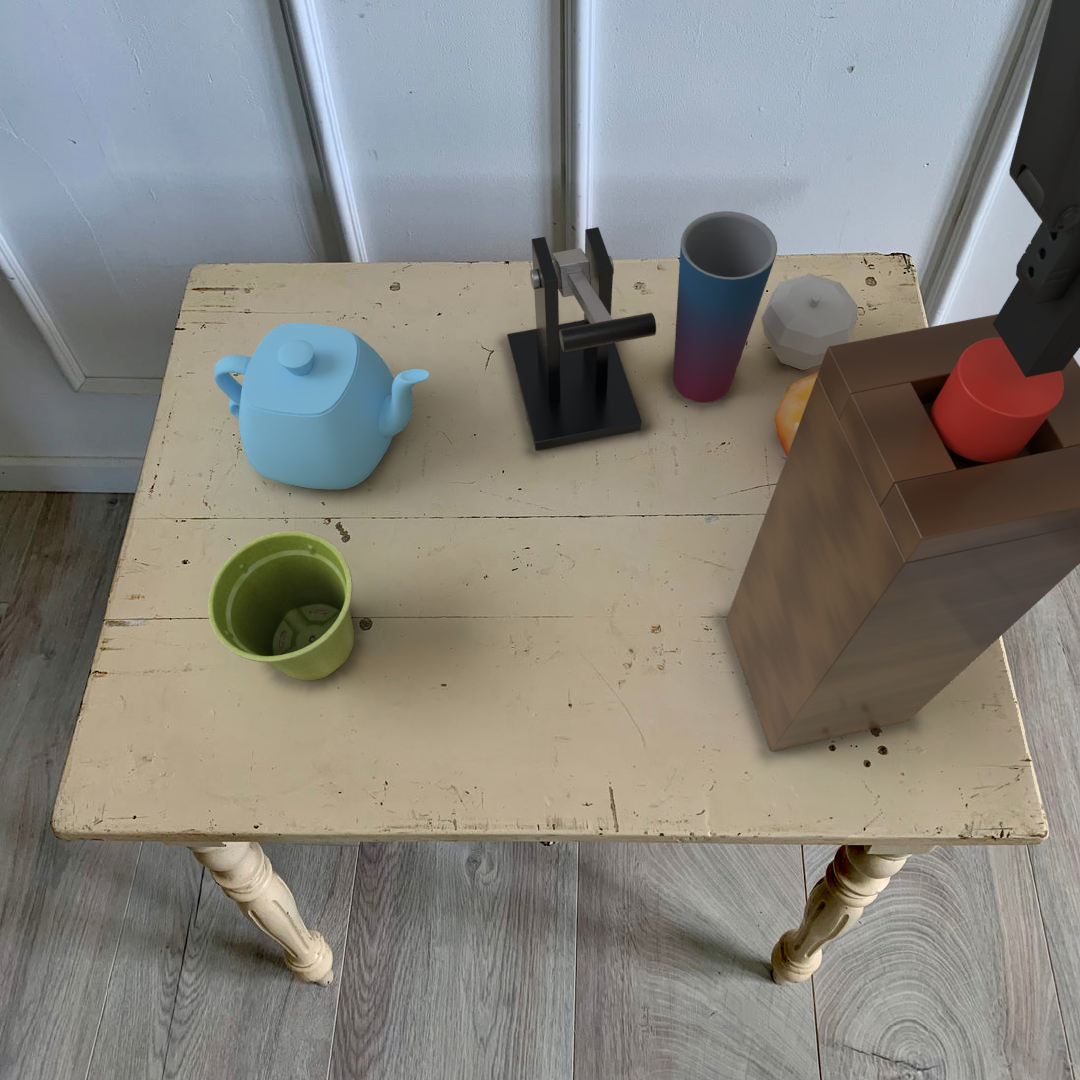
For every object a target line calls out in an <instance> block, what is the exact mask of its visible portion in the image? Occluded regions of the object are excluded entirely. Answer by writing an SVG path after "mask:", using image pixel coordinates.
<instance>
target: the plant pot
mask: <svg viewBox="0 0 1080 1080" xmlns="http://www.w3.org/2000/svg"><path fill="white" fill-rule="evenodd" d="M353 590H354V589H353V577H352V574H351V569H350V568H349V565H348V562H347V561H346V559H345V557H344V555H343V554H342V552H340V550H339V549H338V548H337V547H336V546H335V545H333V544H332V542H330V541H328V540H327V539H326V538H323V537H321V536H319V535H317V534H314V533H311V532H307V531H300V530H287V531H286V530H283V531H276V532H272V533H268V534H265V535H262V536H259V537H257V538H255V539H253V540H251V541H249V542H247V543H246V544H244V545H243V546H241V547H240V548H238V549H237V550H235V551H234V552H233V554H231V555H230V556H229V558H228V559H227V560H226V561H225V562H224V563H223V564H222V566H221V567H220V569H218V571H217V573H216V575H215V576H214V578H213V581H212V584H211V586H210V590H209V594H208V599H207V614H208V621H209V624H210V627H211V629H212V631H213V633H214V634H215V636H216V638H217V639H218V641H219V642H220V643H221V644H222V645H223V646H224V647H225V648H226V649H227V650H228V651H230V652H232V653H233V654H234V655H237V656H238V657H241V658H243V659H245V660H248V661H251V662H252V661H253V662H257V663H267V664H269V665H270V666H272V667H273V668H275V669H277V670H278V671H280V672H281V673H283V674H285V676H288V677H290V678H293V679H296V680H298V681H315V680H321V679H323V678H326V677H328V676H330V675H331V674H332V673H334V672H335V671H336V670H337V669H338V668H340V667H341V666H342V665H343V664H344V663H346V661H347V660H348V659H349V657H350V655H351V653H352V651H353V648H354V643H355V629H354V624H353V620H352V616H351V611H350V608H351V603H352V599H353ZM317 610H323V611H326V614H325V613H317V612H316V613H313V611H317ZM284 632H285V636H284V639H283V644H282V648H281V647H280V643H281V639H280V638H281V635H282V634H283V633H284ZM311 637H314V638H315V639H314V641H313V642H312V641H310V638H311Z"/></svg>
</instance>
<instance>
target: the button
mask: <svg viewBox="0 0 1080 1080" xmlns="http://www.w3.org/2000/svg"><path fill="white" fill-rule="evenodd" d="M1063 390H1064V382H1063V377H1062V374H1061V372H1060V371H1056V372H1051V373H1046V374H1041V375H1036V376H1031V377H1025V376H1024V374H1023V372H1022V371H1021V369H1020V368H1019V366H1018V364H1017V363H1016V361H1015V359H1014V358H1013V356H1012V355H1011V353H1010V351H1009V350H1008V348H1007V346H1006V345H1005V343H1004V342H1003V340H1002V338H989V339H985V340H981V341H979V342H976V343H974V344H973V345H971V346H970V347H968V348H967V349H966V350H965V351H964V352H963V354H962V355H961V357H960V358H959V360H958V362H957V364H956V365H955V367H954V369H953V371H952V372H951V374H950V376H949V377H948V379H947V381H946V383H945V384H944V386H943V388H942V390H941V391H940V393H939V395H938V397H937V398H936V400H935V402H934V404H933V406H932V409H931V422H932V424H933V426H934V427H935V429H936V431H937V433H938V435H939V437H940V439H941V441H942V442H943V444H944V445H945V446H946V447H947V448H949V449H950V450H951V451H953V452H954V453H956V454H958V455H960V456H962V457H964V458H967V459H970V460H973V461H978V462H987V463H989V462H1000V461H1004V460H1007V459H1009V458H1012V457H1014V456H1015V455H1017V454H1018V453H1019V452H1020V451H1021V450H1022V449H1023V448H1024V447H1025V445H1026V444H1027V443H1028V442H1029V440H1030V439H1031V438H1032V436H1033V435H1034V434H1035V433H1036V431H1037V430H1038V429H1039V427H1040V426H1041V425H1042V424H1043V422H1044V421H1045V420H1046V418H1047V417H1048V416H1049V414H1050V413H1051V412H1052V411H1053V409H1054V408H1055V407H1056V405H1057V404H1058V403H1059V401H1060V400H1061V398H1062V395H1063Z"/></svg>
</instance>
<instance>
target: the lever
mask: <svg viewBox="0 0 1080 1080" xmlns="http://www.w3.org/2000/svg"><path fill="white" fill-rule="evenodd" d="M551 257H552V261H553V265H554V268H555V271H556V275H557V278H558V292H559V293H560V295H561V297H562V298H567V297H568V298H569V297H573V296H574V297H575V300H576V301H577V303H578V305H579V307H580V308H581V311H582V312H583V314H584V313H585V315H586V317H587V319H588V321H589V322H590V324H587V325H581V326H576V327H571V328H565V329H560V331H559V336H560V343H561V347H562V350H563V352H569V351H574V350H579V349H585V348H590V347H595V346H601V345H606V344H611V343H615V344H617V343H622V342H626V341H633V340H637V339H642V338H649V337H654V336H656V333H657V322H656V321H657V320H656V318H655V314H654V313H653V312H646V313H641V314H636V315H630V316H625V317H620V318H619V317H618V318H615V319H614V318H612V315H611V316H610V315H609V313H608V311H607V310H606V308H605V307H604V305H603V303H602V302H601V300H600V299H599V297H598V295H597V294H596V292H595V291H594V289H593V287H592V286H591V275H590V263H589V260H588V258H587V257H586V255H585V251H583V249H582V248H581V247H579V248H574V249H568V250H563V251H557V252H552V254H551Z"/></svg>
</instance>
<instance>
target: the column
mask: <svg viewBox="0 0 1080 1080" xmlns="http://www.w3.org/2000/svg"><path fill="white" fill-rule="evenodd" d="M998 314H999V313H995V314H990V315H986V316H980V317H976V318H970V319H965V320H958V321H954V322H949V323H944V324H943V323H942V324H939V325H933V326H928V327H923V328H917V329H913V330H907V331H902V332H897V333H892V334H885V335H881V336H876V337H875V336H874V337H870V338H865V339H860V340H855V341H849V342H848V343H844V344H839V345H833V346H829V347H828V348H827V351H826V354H825V356H824V359H823V362H822V364H820V367H819V370H818V372H817V373H818V376H817V378H816V380H815V383H814V386H813V388H812V391H811V394H810V396H809V399H808V402H807V404H806V407H805V410H804V413H803V415H802V418H801V421H800V423H799V426H798V429H797V431H796V434H795V437H794V439H793V442H792V445H791V447H790V450H789V453H788V455H787V456H786V458H785V460H784V464H783V466H782V469H781V472H780V475H779V477H778V480H777V482H776V484H775V487H774V491H773V493H772V496H771V499H770V501H769V504H768V507H767V508H766V512H765V514H764V517H763V520H762V522H761V526H760V528H759V531H758V533H757V536H756V539H755V542H754V544H753V546H752V549H751V551H750V554H749V557H748V560H747V563H746V565H745V568H744V571H743V574H742V576H741V578H740V581H739V584H738V587H737V589H736V592H735V594H734V597H733V600H732V603H731V606H730V608H729V610H728V614H727V616H726V618H725V623H726V626H727V629H728V632H729V635H730V638H731V640H732V643H733V646H734V650H735V652H736V655H737V657H738V661H739V664H740V667H741V670H742V672H743V675H744V678H745V681H746V684H747V687H748V690H749V693H750V696H751V699H752V701H753V705H754V707H755V710H756V714H757V717H758V719H759V722H760V724H761V728H762V731H763V734H764V736H765V739H766V742H767V745H768V748H769V750H770V751H769V752H776V751H780V750H786V749H790V748H793V747H799V746H802V745H807V744H812V743H816V742H820V741H825V740H829V739H834V738H837V737H842V736H847V735H852V734H856V733H861V732H865V731H869V730H874V729H877V728H882V727H887V726H891V725H896V724H900V723H905V722H909V721H910V720H911V719H912V718H913V717H914V716H916V715H917V714H918V713H919V712H920V711H921V710H922V709H923V708H924V707H925V706H927V705H928V704H929V703H930V702H931V701H932V700H933V699H934V698H935V697H936V696H937V695H938V694H940V693H941V692H942V691H943V690H944V689H945V688H946V687H947V686H948V685H950V683H952V682H953V681H954V680H955V679H956V678H957V677H959V675H960V674H961V673H962V672H964V671H965V670H966V669H967V668H968V667H969V666H970V665H971V664H972V663H974V661H975V660H977V659H978V658H979V657H980V656H982V654H983V653H985V652H986V651H987V650H988V649H989V648H990V647H991V646H992V645H993V644H994V643H995V642H996V641H997V640H998V639H1000V638H1001V637H1002V636H1003V635H1004V634H1005V633H1006V632H1007V631H1008V630H1009V629H1011V627H1013V626H1014V625H1015V624H1016V623H1017V622H1018V621H1019V620H1020V619H1021V618H1022V617H1023V616H1025V614H1027V613H1028V612H1029V611H1030V610H1031V609H1032V608H1033V607H1034V606H1035V605H1036V604H1038V603H1039V602H1040V601H1041V600H1042V599H1043V598H1044V597H1045V596H1046V595H1047V594H1048V593H1050V592H1051V591H1052V590H1054V588H1055V587H1056V586H1057V585H1058V584H1060V582H1061V581H1063V580H1064V579H1065V578H1066V577H1067V576H1068V575H1069V574H1070V573H1071V572H1072V571H1073V570H1074V569H1075V568H1077V567H1078V566H1079V565H1080V365H1079V363H1078V361H1077V360H1076V358H1075V356H1073V358H1072V359H1071V360H1070V362H1069V363H1068V364H1067V366H1066V367H1065V368H1064V370H1061V371H1060V372H1061V374H1062V377H1063V382H1064V390H1063V395H1062V398H1061V400H1060V401H1059V403H1058V404H1057V405H1056V407H1055V408H1054V409H1053V411H1052V412H1051V413H1050V414H1049V416H1048V417H1047V418H1046V420H1045V421H1044V422H1043V424H1042V425H1041V426H1040V427H1039V429H1038V430H1037V431H1036V433H1035V434H1034V435H1033V436H1032V438H1031V439H1030V440H1029V442H1028V443H1027V444H1026V445H1025V447H1024V448H1023V449H1022V450H1021V451H1020V452H1019V453H1018V454H1017V455H1015V456H1014V457H1012V458H1009V459H1007V460H1004V461H1000V462H989V463H987V462H978V461H973V460H970V459H967V458H964V457H962V456H960V455H958V454H956V453H954V452H953V451H951V450H950V449H949V448H947V447H946V446H945V445H944V444H943V442H942V441H941V439H940V437H939V435H938V433H937V431H936V429H935V427H934V426H933V424H932V422H931V409H932V406H933V404H934V402H935V400H936V398H937V397H938V395H939V393H940V391H941V390H942V388H943V386H944V384H945V383H946V381H947V379H948V377H949V376H950V374H951V372H952V371H953V369H954V367H955V365H956V364H957V362H958V360H959V358H960V357H961V355H962V354H963V352H964V351H965V350H966V349H967V348H968V347H970V346H971V345H973V344H974V343H976V342H979V341H981V340H985V339H989V338H1001V337H1000V335H999V333H998V332H997V330H996V329H995V327H994V325H993V322H994V320H995V319H996V317H997V315H998Z"/></svg>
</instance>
